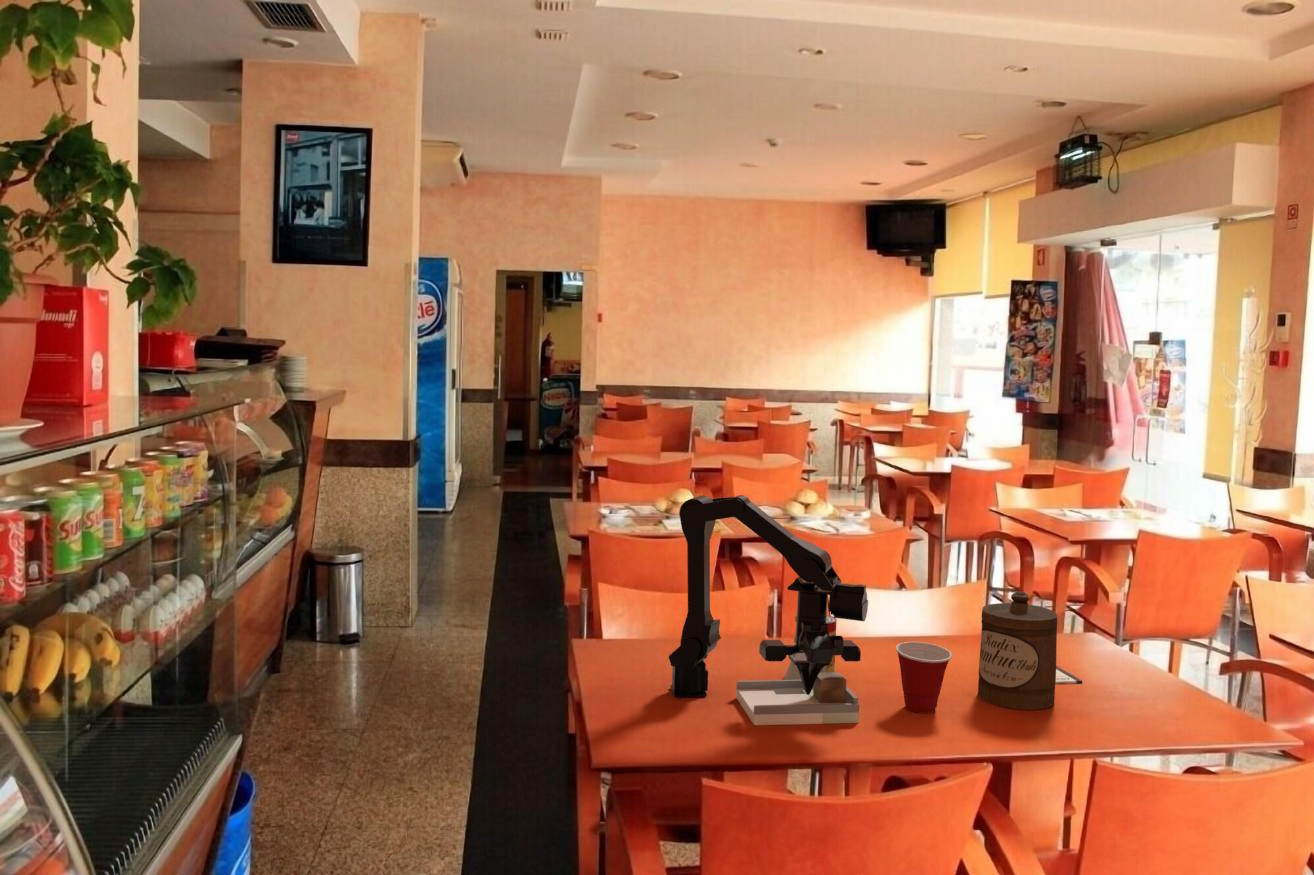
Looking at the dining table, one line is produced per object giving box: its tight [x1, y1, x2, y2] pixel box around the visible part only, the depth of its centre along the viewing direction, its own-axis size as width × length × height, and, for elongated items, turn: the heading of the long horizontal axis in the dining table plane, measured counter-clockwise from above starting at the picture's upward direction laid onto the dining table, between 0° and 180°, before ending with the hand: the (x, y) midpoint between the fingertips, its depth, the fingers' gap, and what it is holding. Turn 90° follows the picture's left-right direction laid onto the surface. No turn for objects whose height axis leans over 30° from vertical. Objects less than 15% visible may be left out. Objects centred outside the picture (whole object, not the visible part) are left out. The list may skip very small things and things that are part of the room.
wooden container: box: [977, 590, 1058, 711], centre depth 227 cm, size 15×15×22 cm
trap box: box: [735, 679, 860, 726], centre depth 217 cm, size 20×16×4 cm
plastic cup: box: [895, 641, 953, 714], centre depth 219 cm, size 11×11×12 cm
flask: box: [783, 633, 804, 680], centre depth 236 cm, size 7×7×10 cm
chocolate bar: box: [1055, 665, 1083, 685], centre depth 248 cm, size 9×1×18 cm
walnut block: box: [813, 671, 847, 703], centre depth 218 cm, size 5×5×4 cm
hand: (807, 694), depth 217 cm, fingers closed
